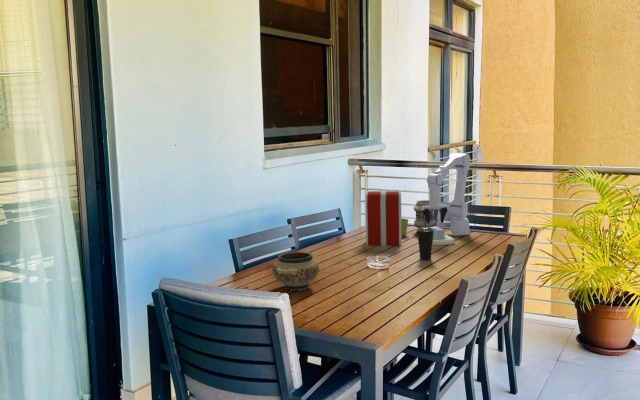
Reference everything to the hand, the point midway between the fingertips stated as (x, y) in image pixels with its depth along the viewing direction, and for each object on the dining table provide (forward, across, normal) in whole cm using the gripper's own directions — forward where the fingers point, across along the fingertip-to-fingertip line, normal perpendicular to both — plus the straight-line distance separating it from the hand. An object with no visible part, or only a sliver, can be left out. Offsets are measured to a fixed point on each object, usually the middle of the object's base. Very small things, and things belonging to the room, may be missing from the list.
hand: (435, 223), depth 308 cm
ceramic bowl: (+10, -84, -65) cm, 107 cm away
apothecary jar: (+10, +3, +22) cm, 24 cm away
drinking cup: (+10, -20, -37) cm, 43 cm away
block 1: (+8, 0, 0) cm, 8 cm away
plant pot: (+10, -12, +20) cm, 25 cm away
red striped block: (+10, -26, +5) cm, 28 cm away
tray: (+9, 0, -3) cm, 10 cm away
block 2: (+8, 0, -6) cm, 10 cm away
